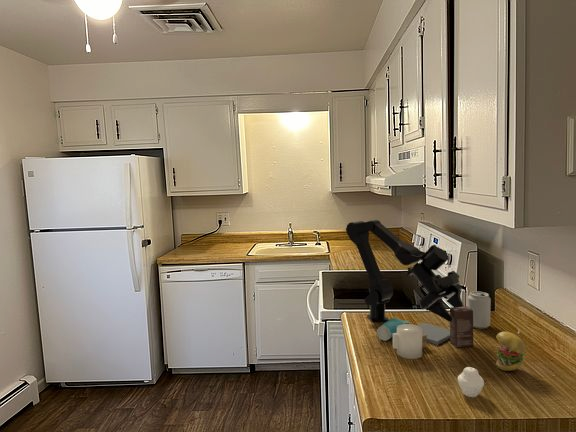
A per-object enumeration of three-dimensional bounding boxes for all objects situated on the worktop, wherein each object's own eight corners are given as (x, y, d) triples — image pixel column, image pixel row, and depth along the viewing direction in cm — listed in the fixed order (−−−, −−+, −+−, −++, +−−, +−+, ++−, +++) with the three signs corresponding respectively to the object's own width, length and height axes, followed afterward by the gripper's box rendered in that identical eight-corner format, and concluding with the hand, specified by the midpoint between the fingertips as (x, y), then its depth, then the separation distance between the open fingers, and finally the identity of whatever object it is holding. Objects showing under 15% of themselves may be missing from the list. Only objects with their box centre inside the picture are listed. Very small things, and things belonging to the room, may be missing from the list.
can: (493, 329, 145) (494, 296, 144) (472, 329, 146) (473, 296, 144) (484, 321, 153) (485, 290, 152) (463, 322, 153) (464, 290, 152)
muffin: (467, 402, 100) (468, 374, 100) (452, 389, 106) (452, 363, 105) (489, 398, 102) (490, 371, 101) (472, 386, 108) (473, 360, 107)
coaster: (405, 334, 142) (405, 331, 142) (424, 325, 150) (424, 322, 150) (437, 345, 133) (437, 341, 133) (455, 335, 141) (455, 331, 141)
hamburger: (493, 361, 121) (494, 322, 120) (521, 365, 118) (522, 324, 117) (497, 373, 114) (498, 331, 113) (526, 377, 111) (528, 334, 110)
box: (466, 341, 136) (466, 305, 135) (473, 346, 131) (474, 310, 130) (448, 342, 135) (449, 306, 134) (455, 348, 131) (456, 311, 130)
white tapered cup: (415, 347, 132) (415, 323, 131) (426, 357, 125) (426, 332, 124) (388, 349, 131) (388, 325, 130) (398, 360, 123) (398, 334, 123)
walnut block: (408, 344, 135) (408, 332, 134) (418, 342, 136) (418, 330, 136) (416, 349, 131) (416, 337, 130) (426, 347, 132) (426, 335, 132)
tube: (374, 323, 139) (391, 311, 155) (372, 336, 139) (389, 323, 156) (396, 330, 135) (411, 317, 151) (393, 344, 135) (408, 330, 152)
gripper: (427, 269, 130) (461, 310, 122) (457, 259, 142) (489, 297, 134) (406, 288, 136) (436, 329, 129) (436, 278, 148) (465, 315, 141)
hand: (458, 317), depth 133 cm, fingers open, 9 cm apart
